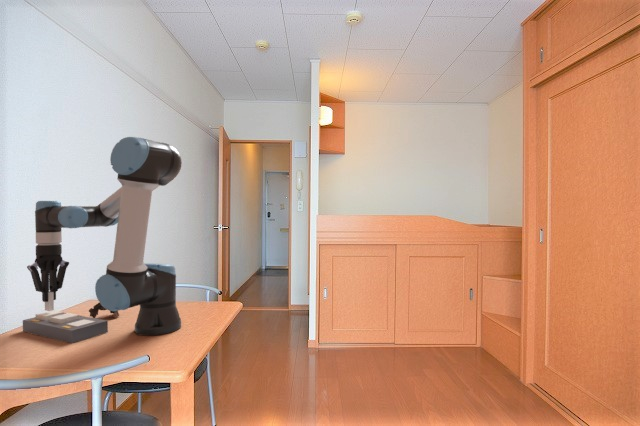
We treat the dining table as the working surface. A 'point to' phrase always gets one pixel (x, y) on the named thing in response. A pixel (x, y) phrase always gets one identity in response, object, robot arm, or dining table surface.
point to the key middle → (64, 318)
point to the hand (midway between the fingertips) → (49, 310)
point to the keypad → (65, 329)
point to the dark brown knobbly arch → (99, 307)
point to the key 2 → (80, 323)
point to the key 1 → (48, 315)
